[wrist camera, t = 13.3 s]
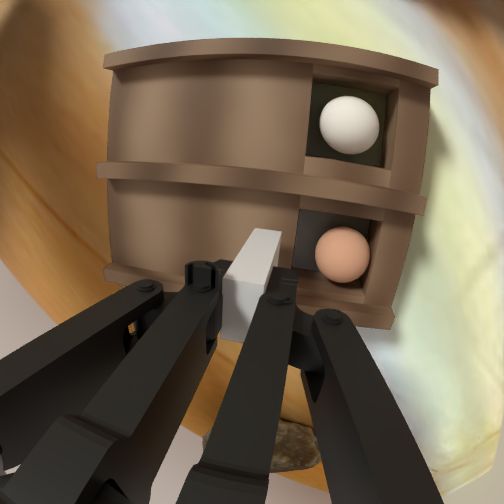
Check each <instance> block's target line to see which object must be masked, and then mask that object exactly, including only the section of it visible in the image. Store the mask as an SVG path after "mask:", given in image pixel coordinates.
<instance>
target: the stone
mask: <svg viewBox="0 0 504 504" xmlns="http://www.w3.org/2000/svg"><path fill="white" fill-rule="evenodd" d="M211 431H212V430H210V431H208V432H207V433H206V435H205V436H203V451H204V449H205V446H206V444H207V441H208V439H209V436H210V433H211ZM320 460H321V455H320V451H319V447H318V442H317V438H316V436H315V435H314V434H313V432H312V428H311V427H306V426H303V425H300V424H298V423H295V422H294V423H292V422H288V421H282V420H281V419H279V424H278V430H277V435H276V441H275V446H274V452H273V457H272V462H271V467H270V472H269V473H275V472H286V471H293V470H303V469H309V468H312V467H313V466H315V465H316V464H318V463H319V461H320Z"/></svg>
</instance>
